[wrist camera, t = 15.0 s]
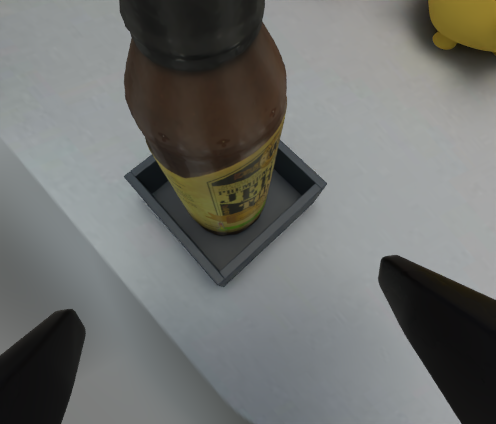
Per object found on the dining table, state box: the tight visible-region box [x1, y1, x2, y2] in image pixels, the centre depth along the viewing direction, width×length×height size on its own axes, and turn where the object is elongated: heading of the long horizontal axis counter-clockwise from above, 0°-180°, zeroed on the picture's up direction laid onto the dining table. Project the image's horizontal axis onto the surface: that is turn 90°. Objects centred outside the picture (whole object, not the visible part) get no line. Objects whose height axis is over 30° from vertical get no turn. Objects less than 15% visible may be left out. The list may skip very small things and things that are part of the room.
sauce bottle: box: [119, 0, 287, 235], centre depth 13 cm, size 6×6×20 cm
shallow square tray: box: [124, 140, 327, 287], centre depth 21 cm, size 10×10×4 cm
